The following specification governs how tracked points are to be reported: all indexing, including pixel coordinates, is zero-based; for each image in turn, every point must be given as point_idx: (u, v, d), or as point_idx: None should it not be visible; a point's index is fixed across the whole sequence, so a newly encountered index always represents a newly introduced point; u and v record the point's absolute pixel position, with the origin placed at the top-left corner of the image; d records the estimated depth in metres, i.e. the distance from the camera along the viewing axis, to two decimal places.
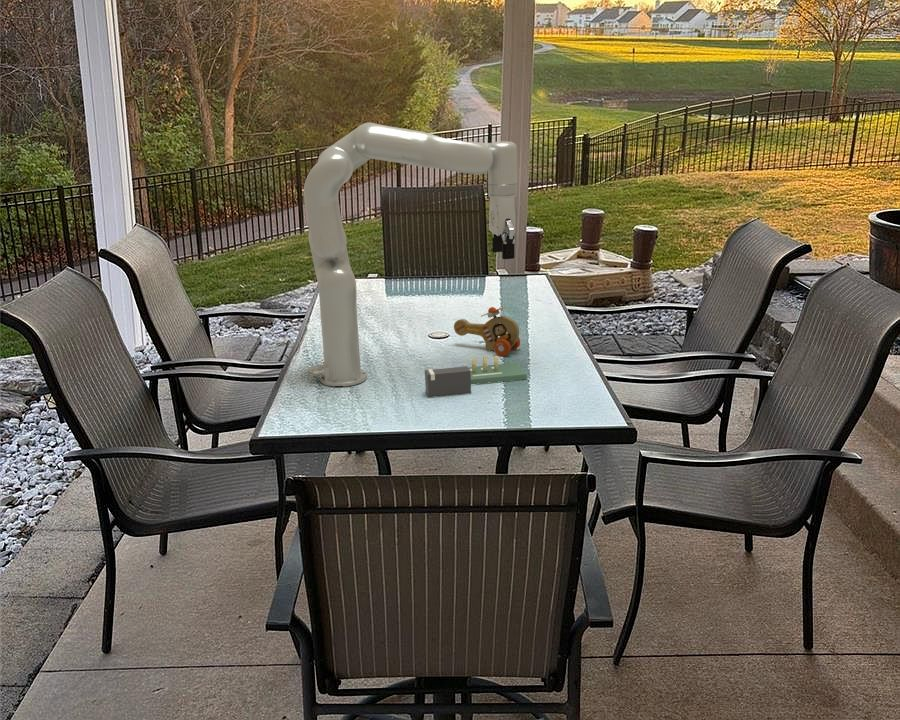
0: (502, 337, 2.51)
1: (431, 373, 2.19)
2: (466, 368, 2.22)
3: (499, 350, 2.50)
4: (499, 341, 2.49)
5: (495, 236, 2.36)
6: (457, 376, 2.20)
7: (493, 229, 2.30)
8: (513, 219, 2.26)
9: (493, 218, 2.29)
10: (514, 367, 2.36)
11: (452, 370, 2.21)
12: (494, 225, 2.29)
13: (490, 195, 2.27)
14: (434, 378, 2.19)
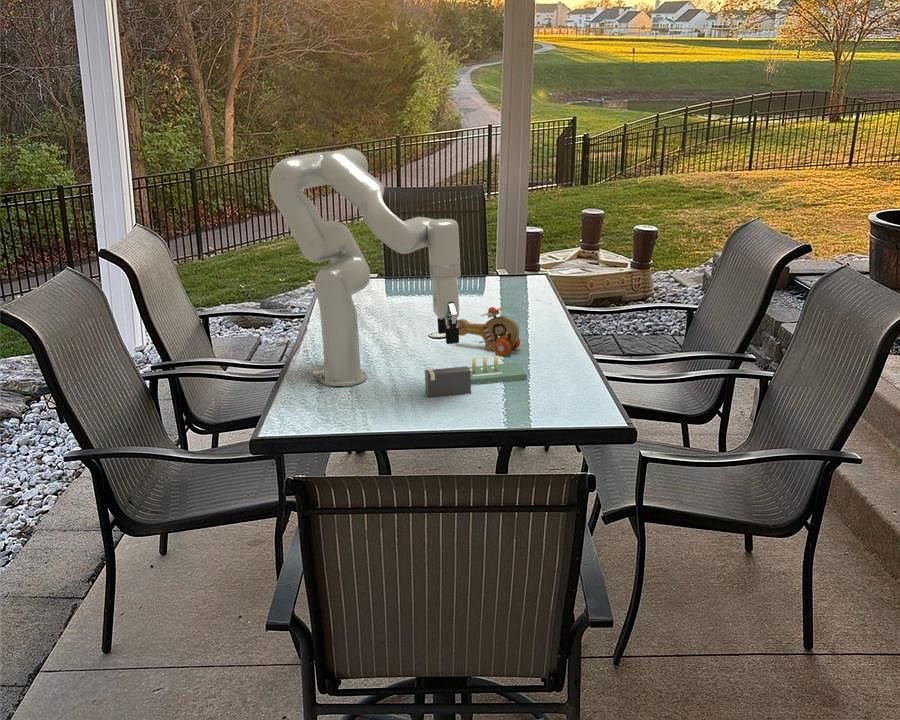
0: (502, 336, 2.51)
1: (431, 373, 2.19)
2: (466, 368, 2.22)
3: (499, 350, 2.50)
4: (499, 341, 2.49)
5: None
6: (457, 376, 2.20)
7: (436, 311, 2.15)
8: (456, 302, 2.11)
9: (436, 300, 2.14)
10: (514, 367, 2.36)
11: (452, 370, 2.21)
12: (437, 308, 2.13)
13: (431, 276, 2.12)
14: (434, 378, 2.19)
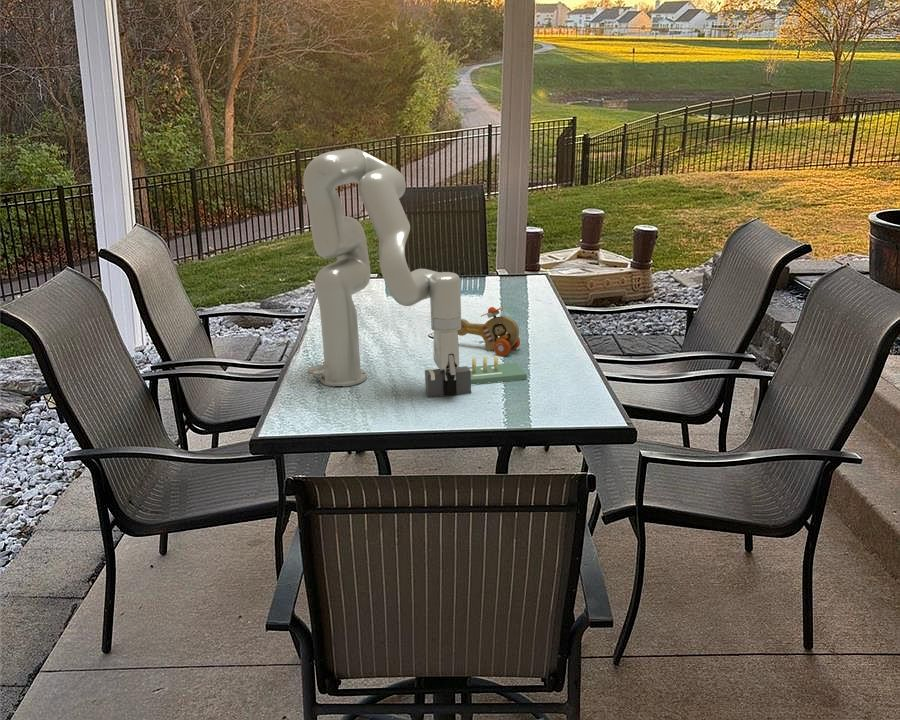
0: (502, 336, 2.51)
1: (431, 373, 2.19)
2: (466, 368, 2.22)
3: (499, 350, 2.50)
4: (499, 341, 2.49)
5: None
6: (458, 376, 2.20)
7: (436, 362, 2.19)
8: (456, 354, 2.15)
9: (436, 351, 2.18)
10: (514, 367, 2.36)
11: None
12: (437, 358, 2.18)
13: (433, 328, 2.16)
14: (434, 378, 2.19)
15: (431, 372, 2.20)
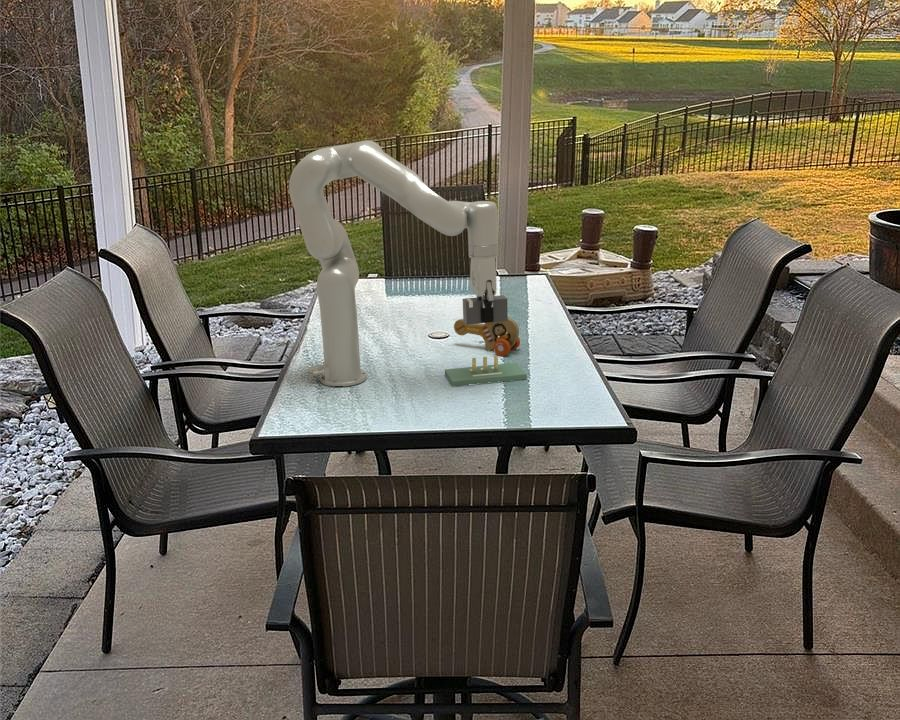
0: (502, 336, 2.51)
1: (469, 300, 2.25)
2: (503, 296, 2.28)
3: (499, 350, 2.50)
4: (499, 341, 2.49)
5: None
6: (495, 303, 2.26)
7: (474, 290, 2.25)
8: (494, 280, 2.21)
9: (474, 279, 2.24)
10: (514, 367, 2.36)
11: None
12: (475, 286, 2.23)
13: (470, 256, 2.22)
14: (472, 305, 2.25)
15: (469, 300, 2.25)
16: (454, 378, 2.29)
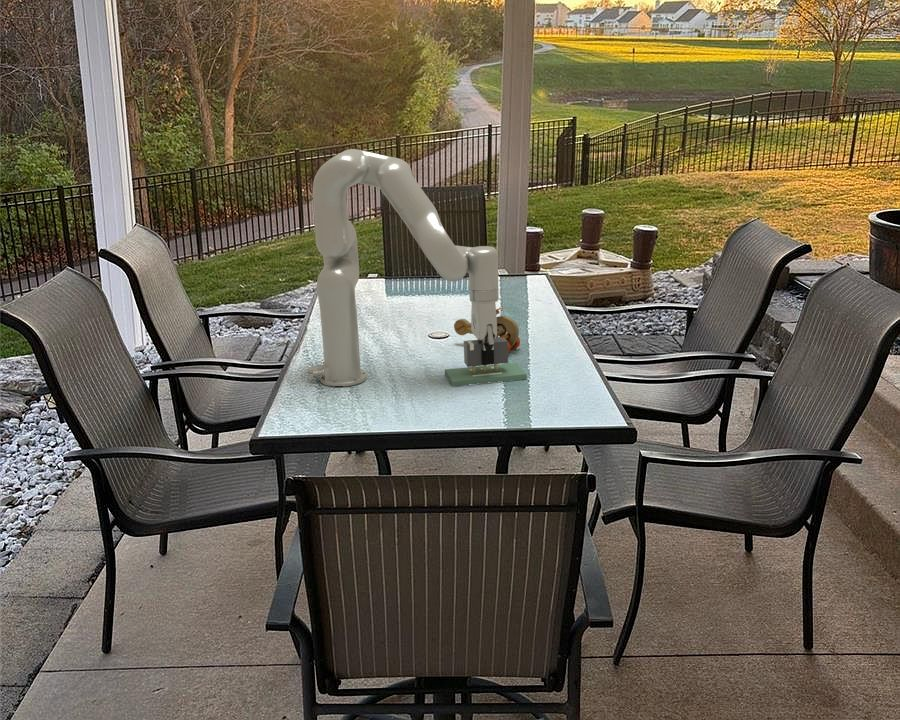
0: (502, 336, 2.51)
1: (470, 343, 2.28)
2: (503, 339, 2.32)
3: None
4: None
5: None
6: (495, 346, 2.29)
7: (475, 333, 2.28)
8: (495, 324, 2.24)
9: (475, 322, 2.27)
10: (514, 367, 2.36)
11: None
12: (476, 329, 2.27)
13: (471, 300, 2.25)
14: (473, 348, 2.28)
15: (470, 342, 2.29)
16: (454, 378, 2.29)
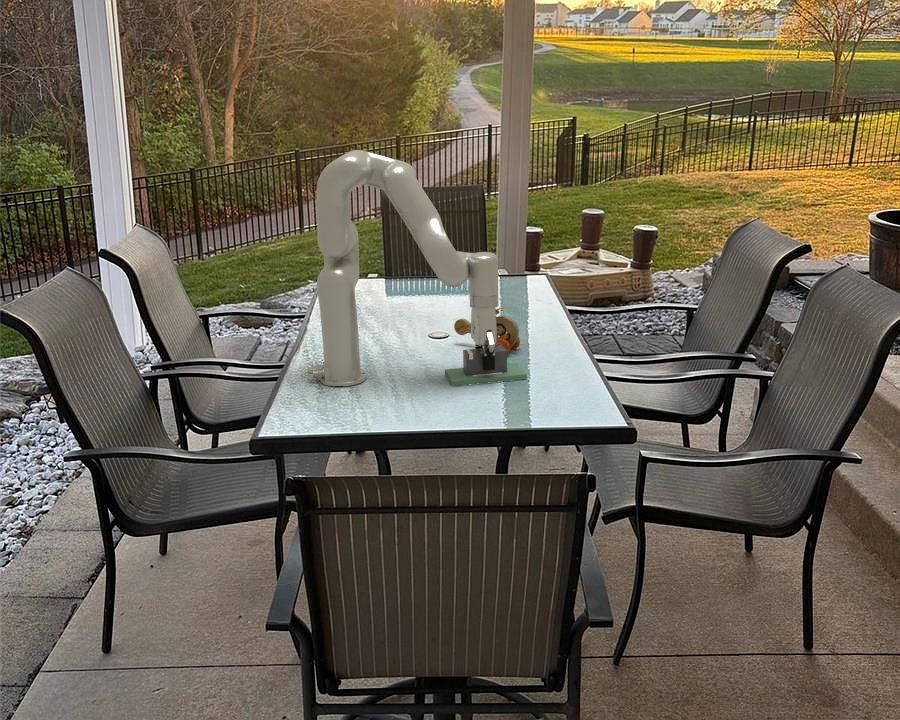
0: (502, 336, 2.51)
1: (469, 353, 2.29)
2: (502, 348, 2.32)
3: None
4: (498, 341, 2.49)
5: (478, 345, 2.35)
6: None
7: (474, 338, 2.29)
8: (494, 330, 2.25)
9: (474, 328, 2.28)
10: (514, 367, 2.36)
11: None
12: (475, 335, 2.28)
13: (471, 306, 2.26)
14: (472, 357, 2.29)
15: (469, 352, 2.30)
16: (454, 378, 2.29)
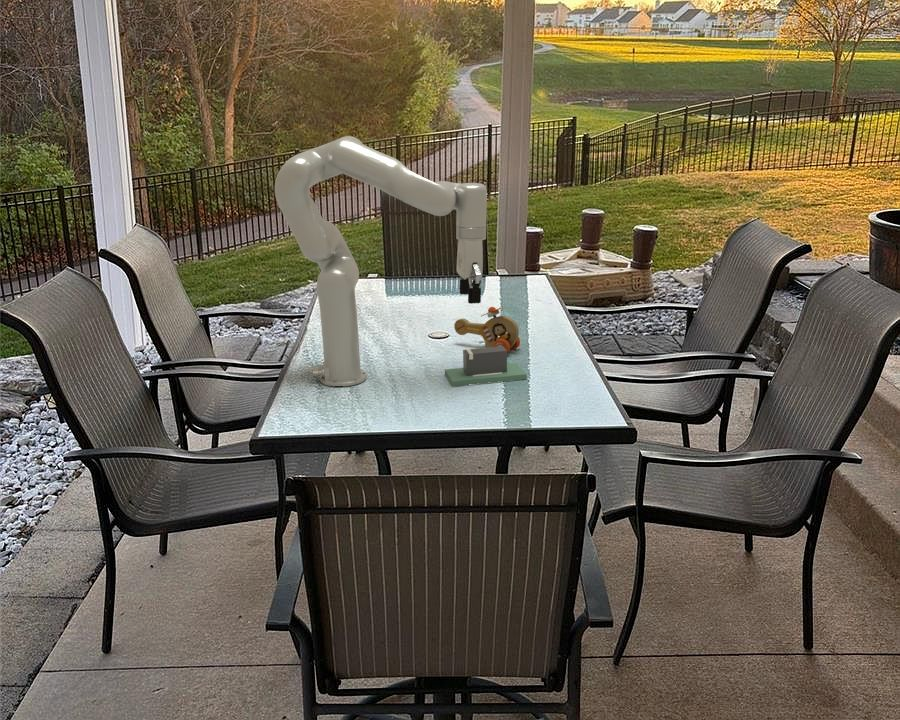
0: (502, 336, 2.51)
1: (469, 353, 2.29)
2: (502, 348, 2.32)
3: None
4: (498, 341, 2.49)
5: (463, 278, 2.30)
6: (494, 355, 2.30)
7: (460, 272, 2.23)
8: (480, 263, 2.20)
9: (460, 261, 2.22)
10: (514, 367, 2.36)
11: (489, 350, 2.31)
12: (461, 268, 2.22)
13: (458, 237, 2.20)
14: (472, 357, 2.29)
15: (469, 352, 2.30)
16: (454, 378, 2.29)
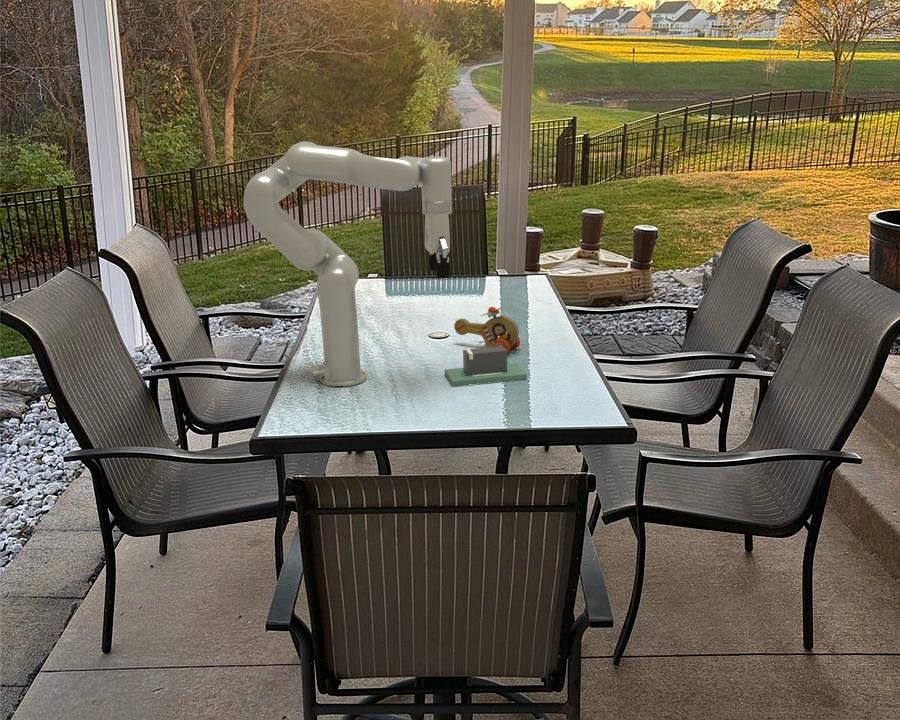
0: (502, 336, 2.51)
1: (469, 353, 2.29)
2: (502, 348, 2.32)
3: None
4: (498, 341, 2.49)
5: (432, 254, 2.28)
6: (494, 355, 2.30)
7: (428, 247, 2.22)
8: (447, 237, 2.18)
9: (427, 236, 2.21)
10: (514, 367, 2.36)
11: (489, 350, 2.31)
12: (428, 243, 2.21)
13: (424, 212, 2.19)
14: (472, 357, 2.29)
15: (469, 352, 2.30)
16: (454, 378, 2.29)
